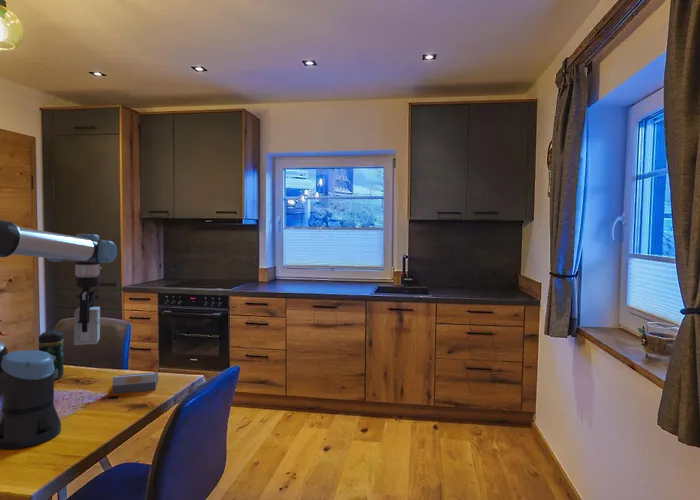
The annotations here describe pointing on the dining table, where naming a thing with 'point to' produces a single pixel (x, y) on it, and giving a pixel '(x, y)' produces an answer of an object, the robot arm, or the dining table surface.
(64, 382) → the dining table surface
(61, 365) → the coffee jar
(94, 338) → the supplement box
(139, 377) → the grey display stand
